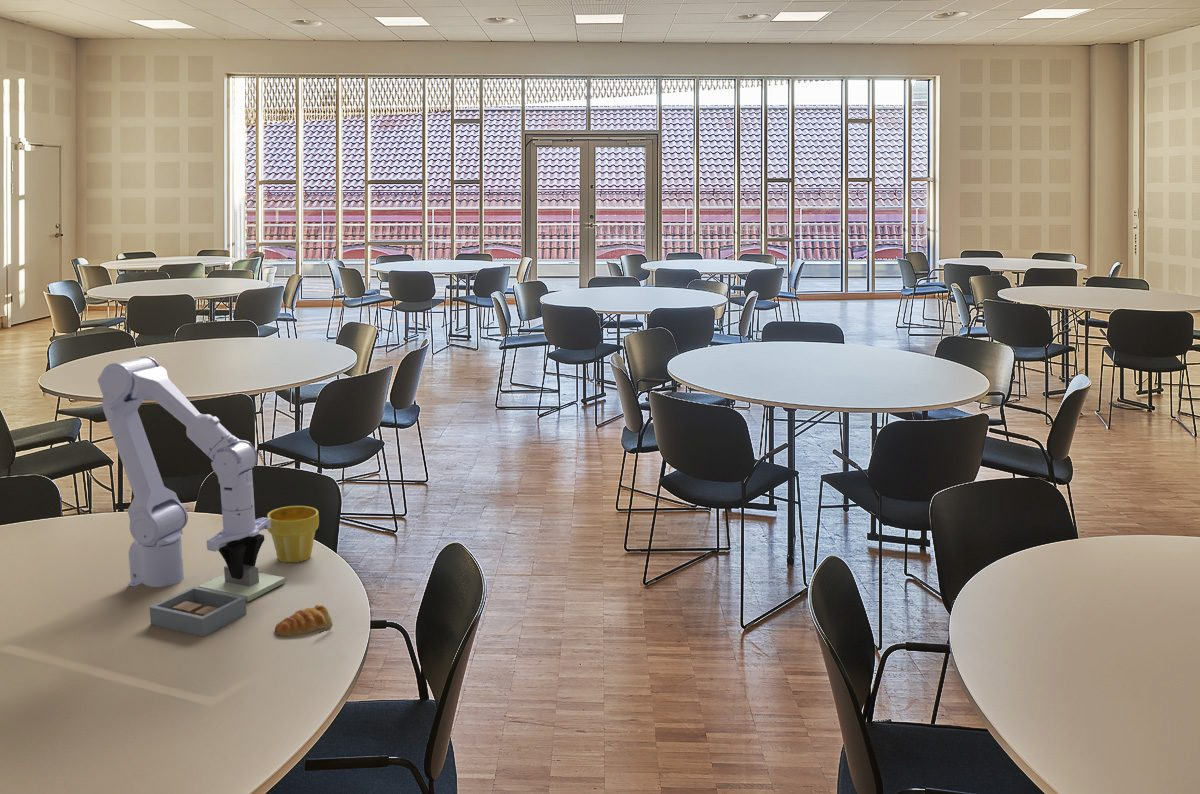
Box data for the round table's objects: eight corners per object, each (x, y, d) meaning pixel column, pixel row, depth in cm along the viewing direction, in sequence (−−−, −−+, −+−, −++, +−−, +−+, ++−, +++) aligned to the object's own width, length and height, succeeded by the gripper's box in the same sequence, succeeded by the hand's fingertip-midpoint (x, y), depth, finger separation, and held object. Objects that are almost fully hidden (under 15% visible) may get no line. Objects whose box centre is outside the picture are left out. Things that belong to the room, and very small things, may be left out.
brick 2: (195, 622, 167) (194, 612, 166) (208, 616, 170) (207, 605, 169) (212, 627, 165) (212, 616, 165) (225, 620, 168) (225, 609, 168)
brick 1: (172, 617, 169) (172, 607, 168) (186, 611, 172) (185, 600, 171) (190, 621, 167) (189, 611, 167) (203, 615, 170) (202, 604, 170)
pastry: (285, 646, 161) (284, 625, 160) (267, 633, 166) (266, 613, 165) (336, 630, 167) (335, 609, 166) (317, 618, 172) (316, 598, 171)
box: (151, 628, 166) (149, 606, 166) (195, 606, 175) (193, 586, 175) (204, 641, 162) (202, 618, 161) (246, 618, 171) (245, 597, 170)
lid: (198, 594, 180) (196, 571, 179) (237, 575, 189) (235, 553, 188) (248, 604, 176) (246, 581, 175) (285, 585, 185) (284, 562, 184)
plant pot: (329, 558, 200) (327, 513, 199) (283, 570, 193) (280, 524, 191) (306, 545, 208) (304, 502, 206) (260, 556, 201) (257, 512, 199)
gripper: (226, 520, 171) (230, 592, 174) (281, 498, 184) (285, 565, 187) (195, 515, 174) (201, 586, 176) (252, 494, 187) (257, 560, 189)
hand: (242, 575), depth 182 cm, fingers closed on lid, 2 cm apart
